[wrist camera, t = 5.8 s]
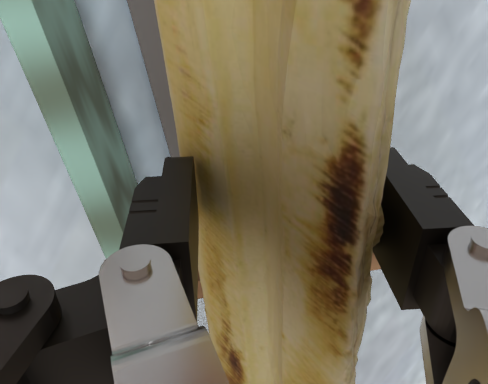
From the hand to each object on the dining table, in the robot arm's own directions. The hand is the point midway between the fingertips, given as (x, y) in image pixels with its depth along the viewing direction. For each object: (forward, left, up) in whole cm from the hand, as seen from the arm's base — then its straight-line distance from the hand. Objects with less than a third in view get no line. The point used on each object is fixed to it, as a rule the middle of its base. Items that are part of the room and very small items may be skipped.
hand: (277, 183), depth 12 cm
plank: (0, 0, -2) cm, 2 cm away
